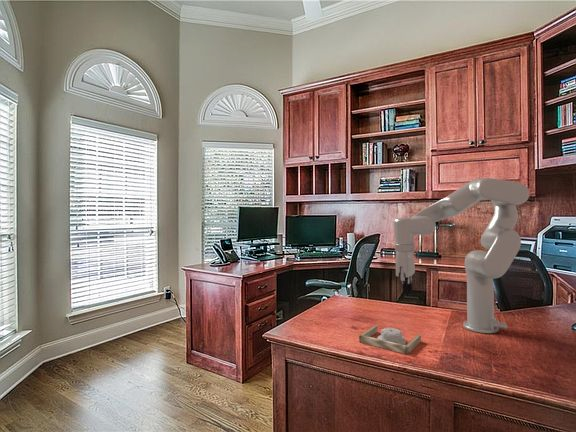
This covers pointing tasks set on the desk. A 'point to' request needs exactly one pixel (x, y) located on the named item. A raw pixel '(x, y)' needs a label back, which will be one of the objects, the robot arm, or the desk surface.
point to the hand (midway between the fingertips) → (407, 292)
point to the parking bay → (388, 345)
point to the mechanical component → (392, 336)
